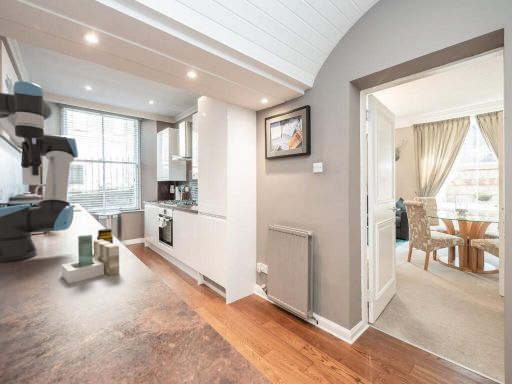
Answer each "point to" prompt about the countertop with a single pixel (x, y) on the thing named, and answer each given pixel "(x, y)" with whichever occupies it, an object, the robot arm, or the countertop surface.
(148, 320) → the countertop surface
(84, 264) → the dowel
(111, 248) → the wall
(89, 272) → the socket block
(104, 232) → the condiment
